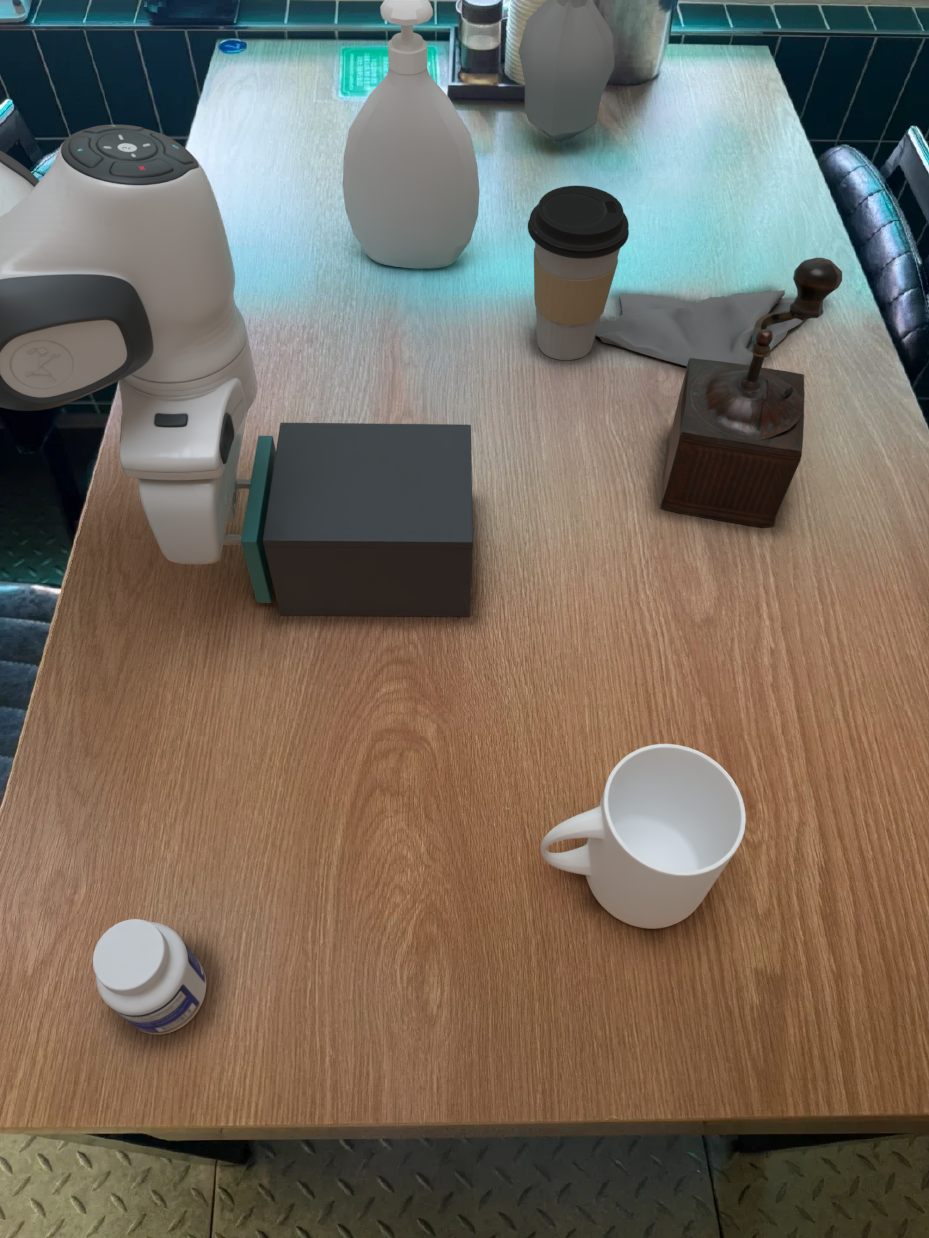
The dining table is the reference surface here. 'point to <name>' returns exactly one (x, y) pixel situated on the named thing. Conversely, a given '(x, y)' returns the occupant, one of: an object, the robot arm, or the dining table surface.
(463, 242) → the soap bottle
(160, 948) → the pill bottle
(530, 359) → the dining table surface
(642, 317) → the cloth
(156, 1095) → the dining table surface
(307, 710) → the dining table surface
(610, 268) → the coffee cup
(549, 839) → the mug
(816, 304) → the manual coffee grinder
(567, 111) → the bottle
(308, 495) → the drawer cabinet
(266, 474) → the teal drawer
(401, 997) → the dining table surface
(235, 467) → the robot arm
